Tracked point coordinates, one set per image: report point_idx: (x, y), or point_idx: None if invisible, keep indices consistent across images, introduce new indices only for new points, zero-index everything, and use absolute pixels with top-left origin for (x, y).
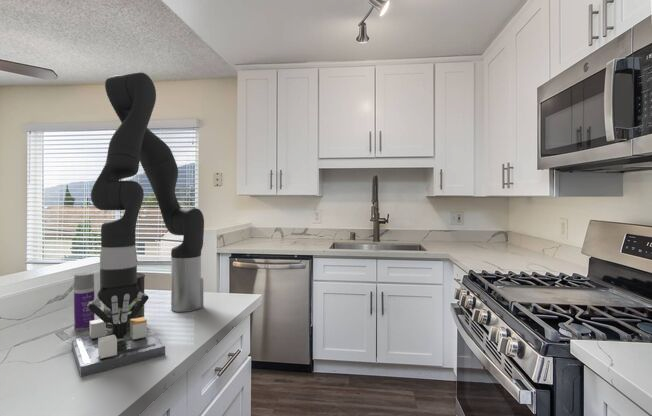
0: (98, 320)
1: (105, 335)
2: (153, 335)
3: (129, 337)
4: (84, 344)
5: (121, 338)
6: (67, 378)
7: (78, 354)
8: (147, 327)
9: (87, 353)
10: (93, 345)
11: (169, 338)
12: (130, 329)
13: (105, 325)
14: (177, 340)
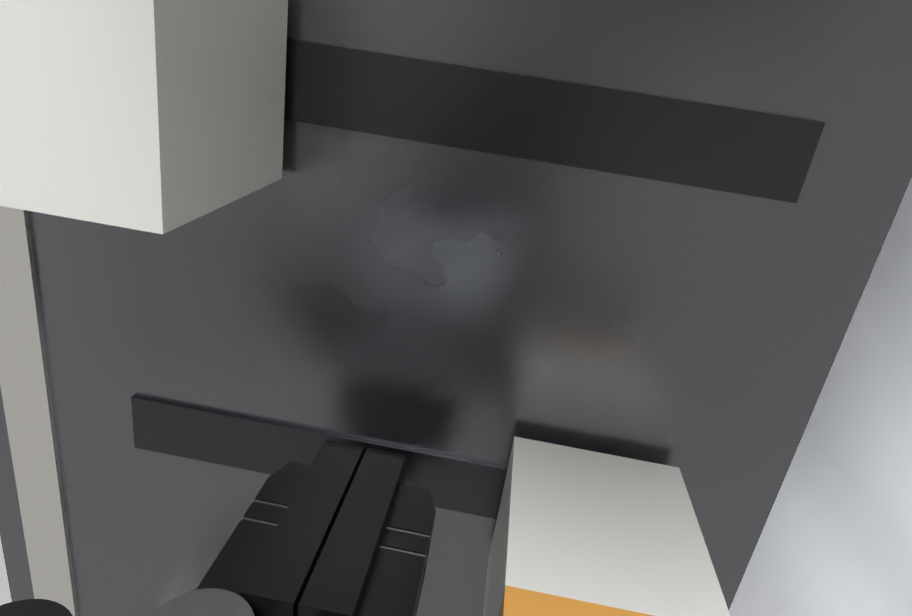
0: (34, 17)
1: (275, 176)
2: (726, 573)
3: (505, 425)
4: (43, 252)
5: (423, 388)
6: (10, 593)
7: (1, 478)
8: (884, 239)
9: (71, 516)
10: (129, 360)
11: (901, 506)
12: (508, 508)
13: (198, 217)
14: (905, 607)
